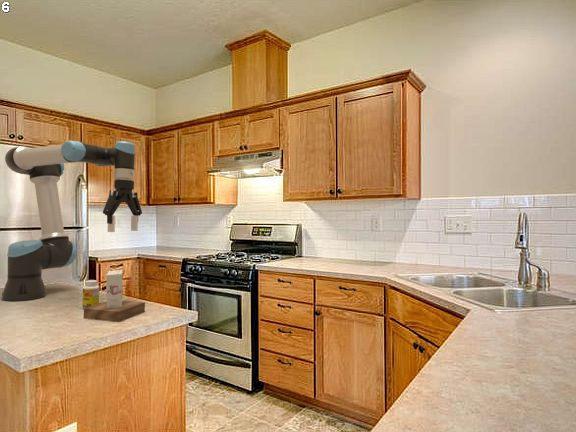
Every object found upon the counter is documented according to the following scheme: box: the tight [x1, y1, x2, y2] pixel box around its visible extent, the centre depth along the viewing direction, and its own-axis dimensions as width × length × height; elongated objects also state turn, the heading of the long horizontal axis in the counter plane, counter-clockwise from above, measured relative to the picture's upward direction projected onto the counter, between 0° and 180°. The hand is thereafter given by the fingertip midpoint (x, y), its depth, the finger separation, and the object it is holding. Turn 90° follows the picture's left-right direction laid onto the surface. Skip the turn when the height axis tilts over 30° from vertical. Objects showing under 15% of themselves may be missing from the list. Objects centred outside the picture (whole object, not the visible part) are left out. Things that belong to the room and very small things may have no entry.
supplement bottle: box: [82, 279, 100, 309], centre depth 141 cm, size 6×6×10 cm
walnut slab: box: [83, 299, 146, 323], centre depth 133 cm, size 14×14×4 cm
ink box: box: [106, 269, 123, 308], centre depth 132 cm, size 9×5×12 cm, turn 22°
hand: (123, 231), depth 154 cm, fingers open, 13 cm apart
